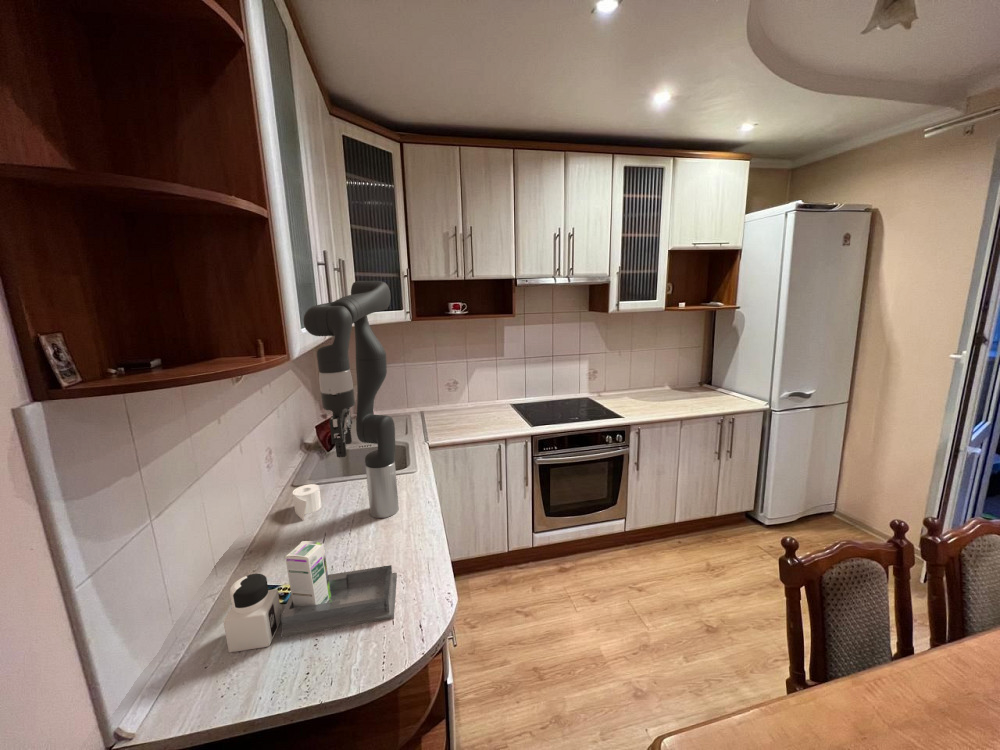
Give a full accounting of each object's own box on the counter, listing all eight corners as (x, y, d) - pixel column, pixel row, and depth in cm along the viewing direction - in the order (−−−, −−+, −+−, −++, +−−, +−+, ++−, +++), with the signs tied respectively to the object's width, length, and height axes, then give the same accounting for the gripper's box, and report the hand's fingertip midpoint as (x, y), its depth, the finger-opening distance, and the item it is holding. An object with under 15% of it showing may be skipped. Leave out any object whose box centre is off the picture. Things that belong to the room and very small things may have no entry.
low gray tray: (300, 591, 98) (298, 576, 97) (396, 575, 103) (395, 562, 102) (281, 637, 85) (279, 621, 84) (394, 617, 89) (392, 602, 88)
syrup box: (316, 616, 89) (309, 557, 86) (292, 613, 90) (284, 555, 87) (331, 597, 94) (324, 541, 92) (309, 594, 95) (301, 539, 93)
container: (282, 618, 90) (274, 566, 87) (269, 647, 82) (260, 591, 80) (245, 623, 89) (236, 571, 86) (228, 653, 81) (217, 597, 79)
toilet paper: (303, 521, 130) (300, 501, 128) (291, 508, 138) (289, 490, 136) (328, 511, 135) (326, 492, 134) (316, 500, 143) (313, 482, 142)
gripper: (326, 383, 105) (334, 441, 108) (313, 397, 91) (323, 463, 95) (357, 380, 106) (363, 438, 110) (348, 394, 93) (356, 459, 96)
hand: (344, 449), depth 102 cm, fingers open, 8 cm apart
